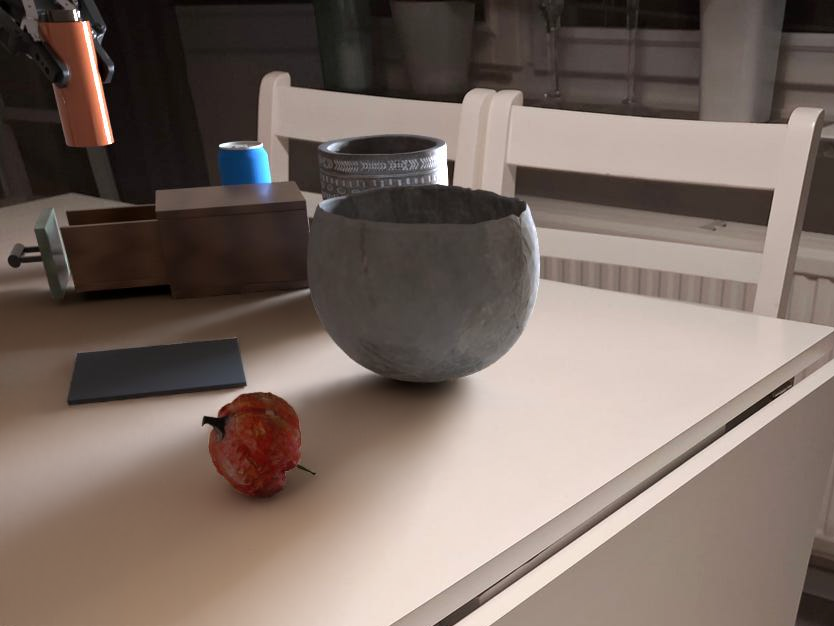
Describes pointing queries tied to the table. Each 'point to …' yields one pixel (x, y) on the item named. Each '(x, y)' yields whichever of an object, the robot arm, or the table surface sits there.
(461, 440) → the table surface
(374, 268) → the bowl
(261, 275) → the cabinet
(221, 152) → the beverage can
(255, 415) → the pomegranate
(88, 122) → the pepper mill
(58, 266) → the drawer
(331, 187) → the planter
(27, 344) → the table surface
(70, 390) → the mat
